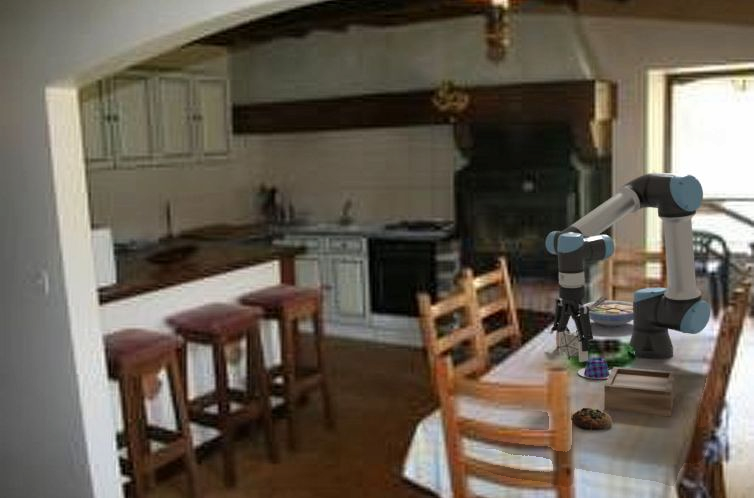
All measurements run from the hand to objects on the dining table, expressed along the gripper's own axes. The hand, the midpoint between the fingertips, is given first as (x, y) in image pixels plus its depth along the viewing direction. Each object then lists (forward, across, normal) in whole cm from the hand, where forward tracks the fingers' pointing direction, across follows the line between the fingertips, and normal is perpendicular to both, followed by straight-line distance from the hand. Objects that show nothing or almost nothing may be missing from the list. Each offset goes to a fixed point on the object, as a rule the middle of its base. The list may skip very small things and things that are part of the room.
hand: (573, 356), depth 236 cm
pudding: (+13, -13, +18) cm, 25 cm away
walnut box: (+12, +14, +14) cm, 23 cm away
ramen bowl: (+14, -60, +59) cm, 85 cm away
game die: (0, 0, 0) cm, 0 cm away
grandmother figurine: (+13, -43, +23) cm, 51 cm away
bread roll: (+13, +21, -8) cm, 26 cm away
